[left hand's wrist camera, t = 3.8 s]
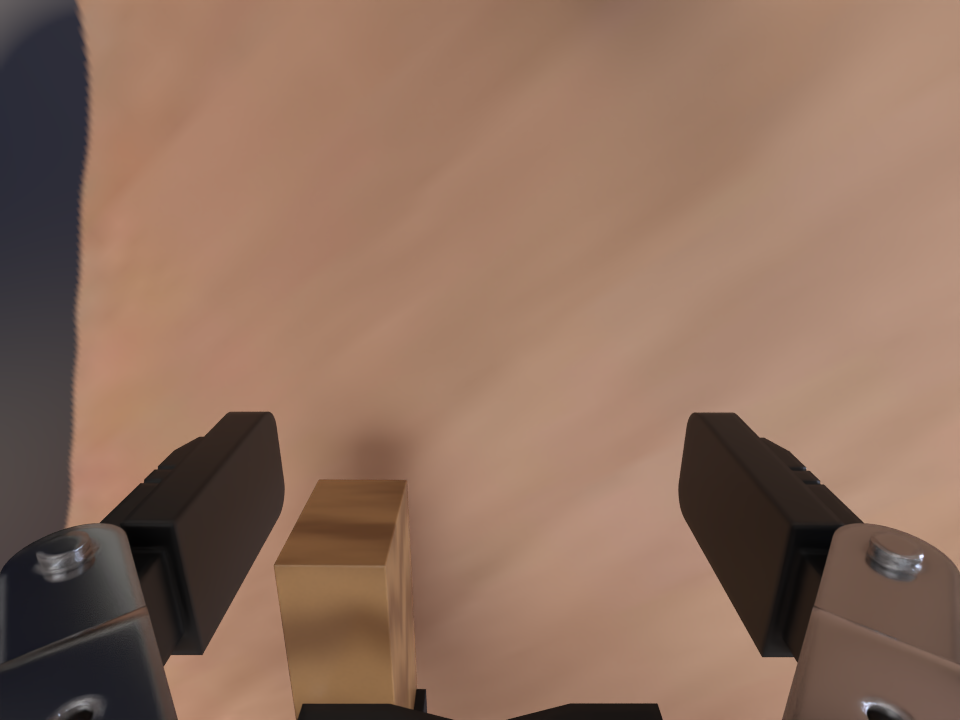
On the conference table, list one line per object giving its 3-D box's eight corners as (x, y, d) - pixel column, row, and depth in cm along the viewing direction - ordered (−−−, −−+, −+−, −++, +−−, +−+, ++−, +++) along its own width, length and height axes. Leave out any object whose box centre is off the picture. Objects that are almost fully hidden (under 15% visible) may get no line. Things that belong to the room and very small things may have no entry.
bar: (318, 479, 38) (272, 565, 30) (407, 479, 38) (385, 565, 29) (346, 734, 45) (315, 858, 37) (419, 735, 45) (405, 859, 37)
